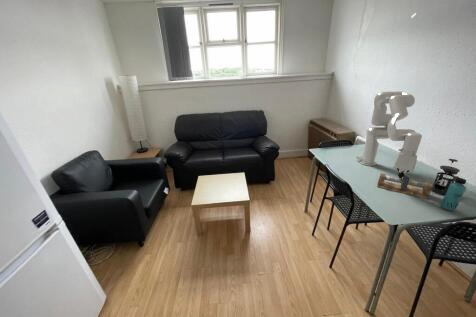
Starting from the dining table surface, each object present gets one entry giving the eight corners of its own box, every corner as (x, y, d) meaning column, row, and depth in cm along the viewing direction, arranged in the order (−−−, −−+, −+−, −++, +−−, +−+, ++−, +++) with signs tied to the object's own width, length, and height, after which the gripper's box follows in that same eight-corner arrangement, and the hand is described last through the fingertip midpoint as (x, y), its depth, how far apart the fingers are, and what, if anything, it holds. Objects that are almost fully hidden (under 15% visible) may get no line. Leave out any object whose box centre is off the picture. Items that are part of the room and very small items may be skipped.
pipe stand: (377, 187, 141) (379, 177, 138) (378, 180, 149) (380, 171, 146) (428, 199, 127) (432, 188, 124) (426, 191, 134) (430, 181, 131)
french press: (433, 194, 132) (447, 161, 122) (426, 186, 140) (438, 155, 131) (456, 196, 128) (472, 163, 119) (447, 189, 136) (461, 157, 127)
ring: (401, 189, 134) (404, 178, 131) (400, 183, 140) (404, 173, 137) (405, 190, 133) (409, 179, 130) (405, 184, 139) (408, 174, 136)
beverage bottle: (436, 206, 120) (449, 176, 112) (446, 205, 121) (460, 175, 113) (447, 213, 114) (462, 182, 106) (458, 212, 115) (473, 181, 107)
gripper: (394, 151, 130) (386, 177, 137) (424, 156, 122) (415, 183, 129) (394, 148, 135) (387, 172, 143) (423, 152, 127) (414, 178, 134)
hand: (400, 177), depth 136 cm, fingers closed
